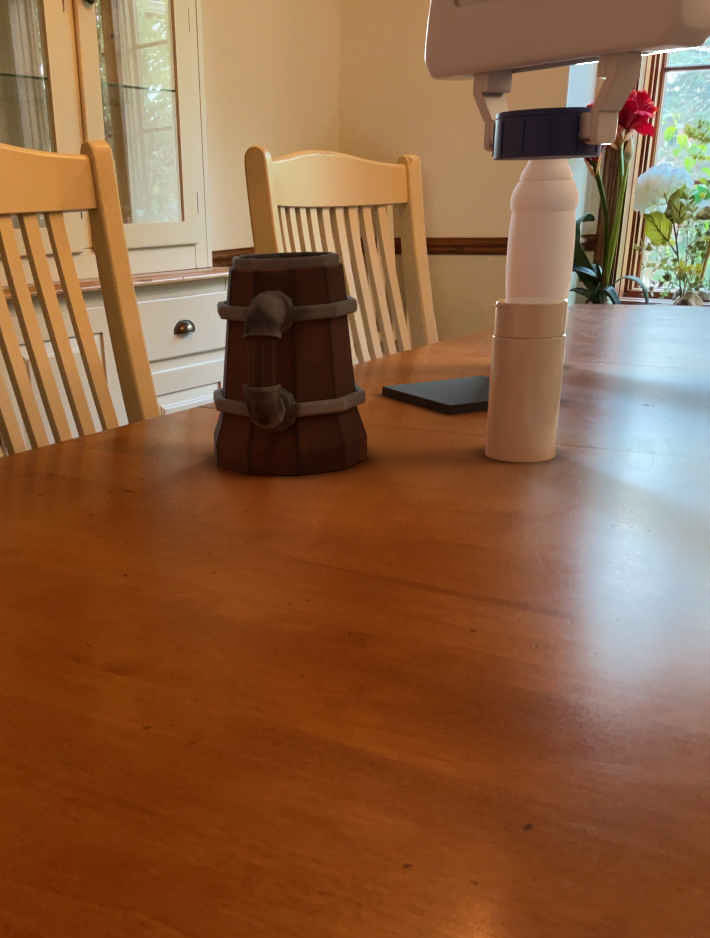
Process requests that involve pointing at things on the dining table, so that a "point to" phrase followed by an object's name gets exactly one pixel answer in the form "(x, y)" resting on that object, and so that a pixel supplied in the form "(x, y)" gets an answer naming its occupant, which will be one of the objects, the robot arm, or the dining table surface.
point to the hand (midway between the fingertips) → (546, 148)
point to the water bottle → (542, 232)
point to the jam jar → (525, 378)
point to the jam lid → (540, 135)
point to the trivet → (444, 394)
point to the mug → (288, 368)
